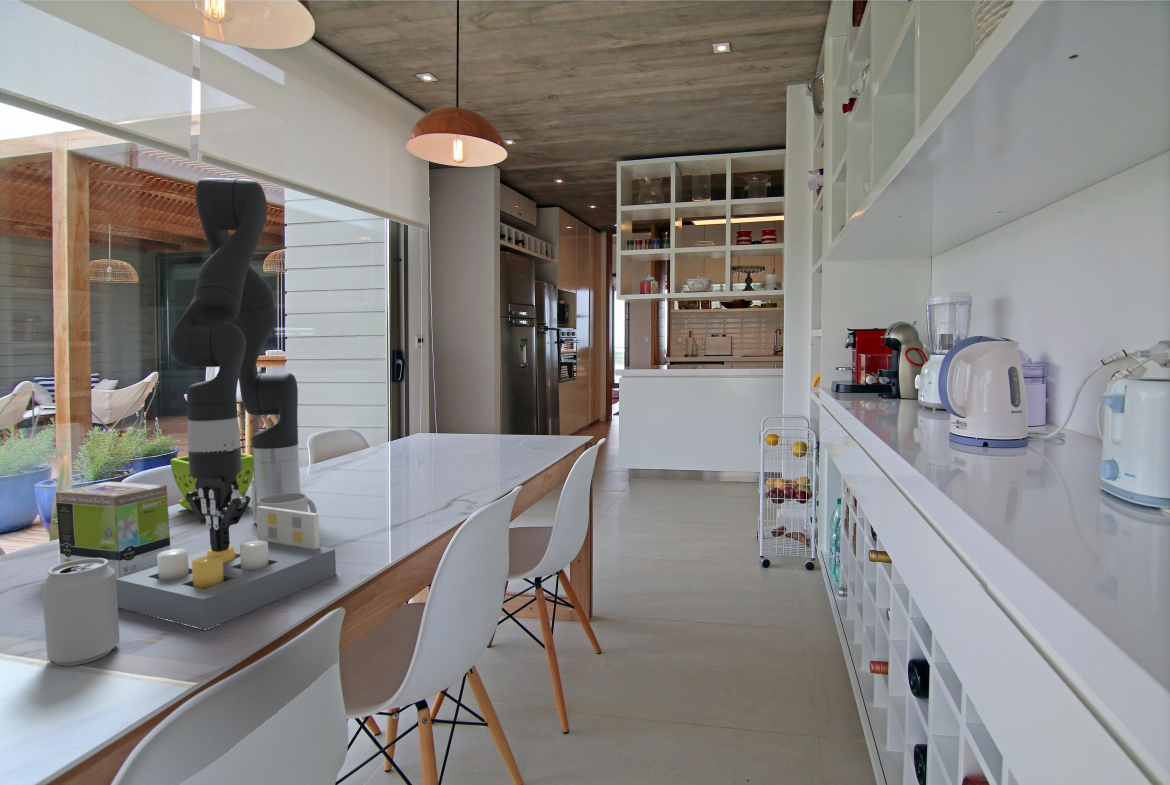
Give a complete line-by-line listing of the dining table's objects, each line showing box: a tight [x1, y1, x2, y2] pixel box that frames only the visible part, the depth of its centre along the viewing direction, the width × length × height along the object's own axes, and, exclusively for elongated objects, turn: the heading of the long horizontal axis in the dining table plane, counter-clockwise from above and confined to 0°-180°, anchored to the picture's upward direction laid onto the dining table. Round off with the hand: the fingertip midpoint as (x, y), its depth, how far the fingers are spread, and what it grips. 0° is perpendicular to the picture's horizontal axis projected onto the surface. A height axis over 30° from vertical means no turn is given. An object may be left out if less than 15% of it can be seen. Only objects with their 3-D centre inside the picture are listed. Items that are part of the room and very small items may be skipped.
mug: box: [257, 492, 318, 514], centre depth 129 cm, size 11×10×10 cm
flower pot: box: [170, 452, 254, 512], centre depth 160 cm, size 14×14×13 cm
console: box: [116, 506, 337, 630], centre depth 107 cm, size 20×24×10 cm
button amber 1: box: [207, 546, 235, 563], centre depth 110 cm, size 4×4×5 cm
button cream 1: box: [157, 548, 189, 581], centre depth 102 cm, size 4×4×5 cm
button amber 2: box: [192, 555, 224, 589], centre depth 99 cm, size 4×4×5 cm
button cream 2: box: [240, 540, 269, 571], centre depth 106 cm, size 4×4×5 cm
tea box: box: [55, 481, 172, 579], centre depth 118 cm, size 15×10×15 cm, turn 71°
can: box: [41, 558, 120, 667], centre depth 85 cm, size 8×8×12 cm
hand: (220, 549), depth 109 cm, fingers closed
